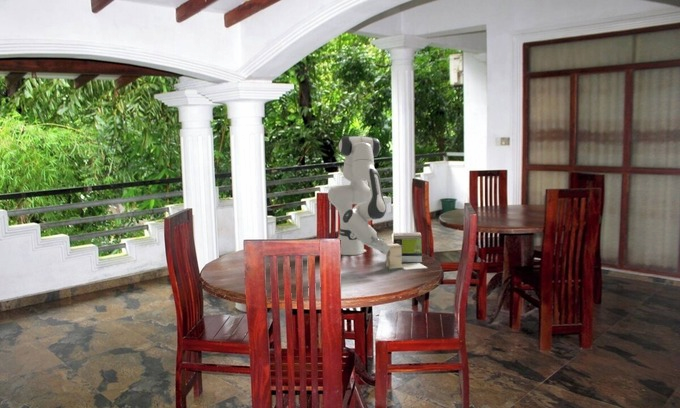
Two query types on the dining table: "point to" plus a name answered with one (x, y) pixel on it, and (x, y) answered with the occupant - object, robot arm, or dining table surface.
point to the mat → (413, 266)
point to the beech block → (394, 257)
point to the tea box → (409, 246)
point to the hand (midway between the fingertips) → (385, 253)
